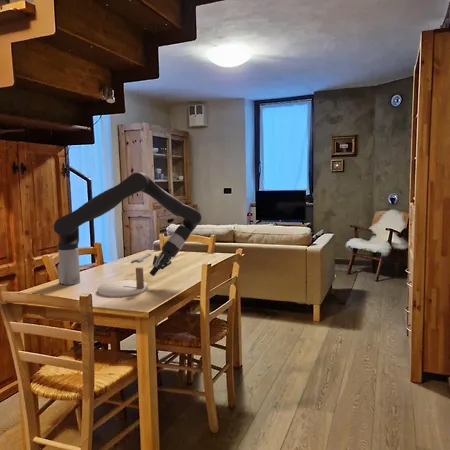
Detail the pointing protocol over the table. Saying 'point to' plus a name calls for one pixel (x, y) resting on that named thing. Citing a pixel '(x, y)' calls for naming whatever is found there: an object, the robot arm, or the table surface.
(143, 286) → the dial
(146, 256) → the adjustable wrench
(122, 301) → the table surface
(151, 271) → the robot arm
